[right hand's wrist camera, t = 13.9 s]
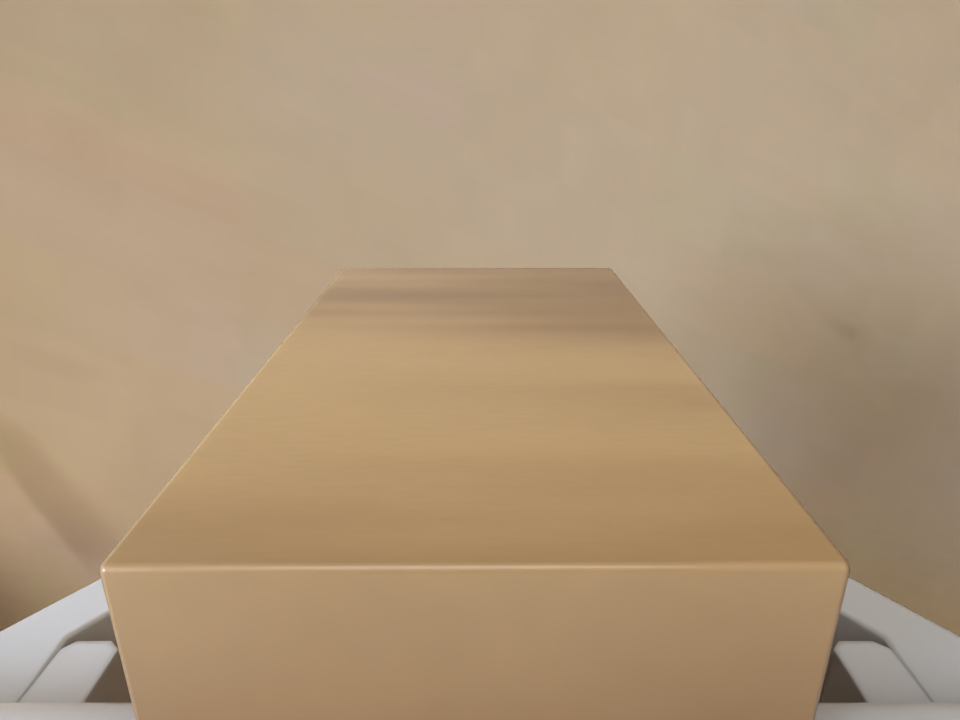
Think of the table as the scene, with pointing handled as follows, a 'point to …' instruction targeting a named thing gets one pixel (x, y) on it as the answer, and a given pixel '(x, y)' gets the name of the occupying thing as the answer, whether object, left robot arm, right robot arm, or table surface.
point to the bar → (475, 525)
